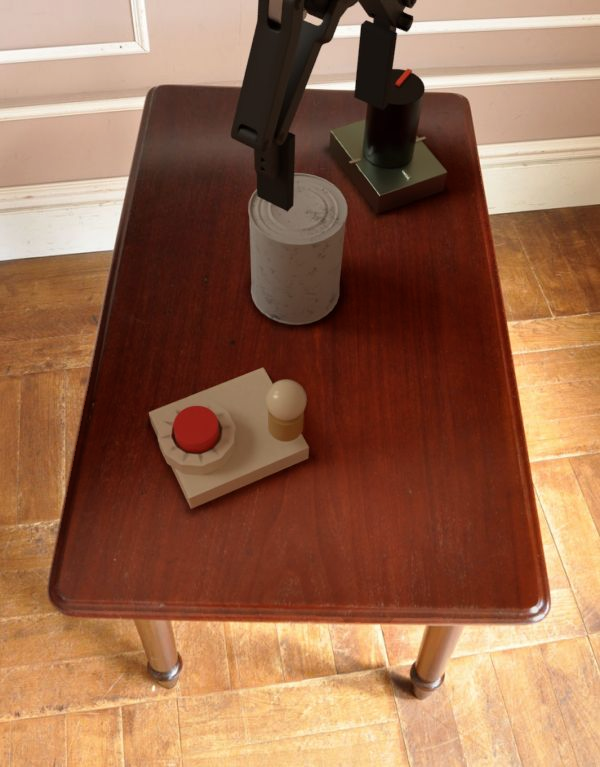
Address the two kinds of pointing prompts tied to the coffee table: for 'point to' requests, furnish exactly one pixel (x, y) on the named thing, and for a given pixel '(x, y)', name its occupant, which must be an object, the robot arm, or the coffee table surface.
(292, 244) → the unlabeled tin can
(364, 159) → the panel
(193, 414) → the lamp button
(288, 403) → the led lamp
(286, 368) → the coffee table surface
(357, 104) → the coffee table surface
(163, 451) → the beige button base
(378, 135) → the dimmer knob
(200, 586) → the coffee table surface
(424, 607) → the coffee table surface
